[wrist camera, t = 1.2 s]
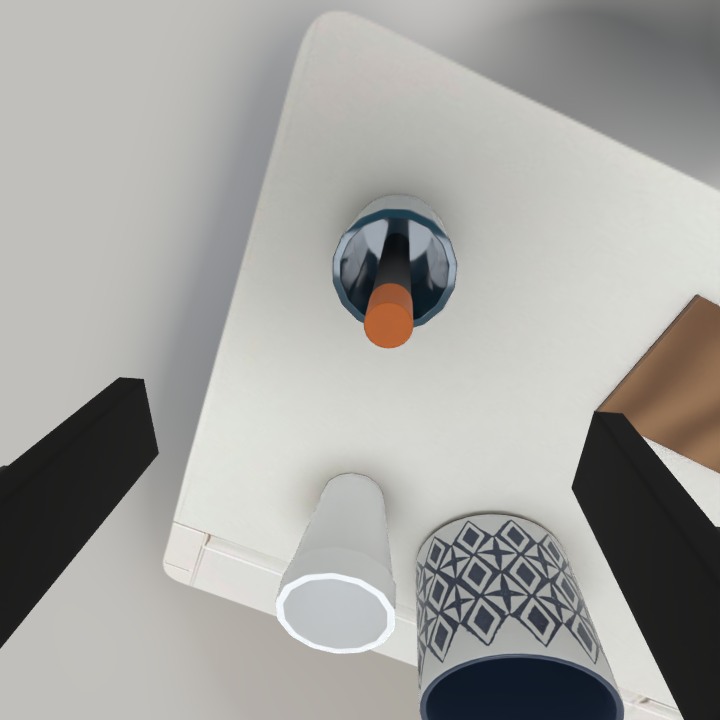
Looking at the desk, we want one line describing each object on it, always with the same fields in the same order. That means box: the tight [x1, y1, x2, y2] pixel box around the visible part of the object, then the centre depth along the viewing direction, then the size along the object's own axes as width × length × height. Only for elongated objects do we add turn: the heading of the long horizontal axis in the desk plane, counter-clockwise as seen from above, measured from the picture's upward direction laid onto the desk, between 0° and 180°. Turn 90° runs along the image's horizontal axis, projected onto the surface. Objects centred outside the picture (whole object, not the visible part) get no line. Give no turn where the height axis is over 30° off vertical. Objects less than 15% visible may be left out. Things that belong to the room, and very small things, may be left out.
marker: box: [364, 233, 413, 348], centre depth 27 cm, size 2×2×17 cm
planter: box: [416, 514, 624, 720], centre depth 42 cm, size 16×16×14 cm
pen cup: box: [333, 194, 457, 328], centre depth 31 cm, size 7×7×9 cm
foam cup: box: [275, 473, 396, 654], centre depth 41 cm, size 10×9×13 cm
